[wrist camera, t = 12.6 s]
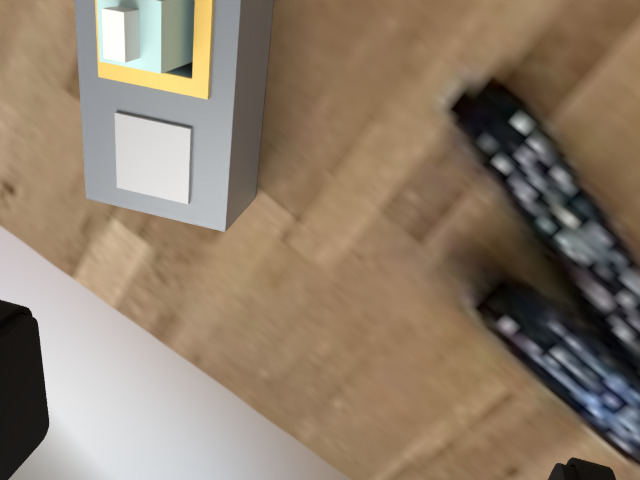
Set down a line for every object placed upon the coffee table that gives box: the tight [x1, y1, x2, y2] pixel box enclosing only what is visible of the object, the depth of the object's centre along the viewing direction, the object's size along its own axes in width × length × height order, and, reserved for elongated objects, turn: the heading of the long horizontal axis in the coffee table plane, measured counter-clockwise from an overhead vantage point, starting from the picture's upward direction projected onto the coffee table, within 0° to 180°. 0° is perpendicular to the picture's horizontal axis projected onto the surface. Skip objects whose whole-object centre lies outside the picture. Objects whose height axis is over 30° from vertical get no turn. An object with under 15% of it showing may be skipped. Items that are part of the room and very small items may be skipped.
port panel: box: [75, 0, 274, 232], centre depth 37 cm, size 16×10×6 cm, turn 172°
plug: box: [97, 0, 195, 74], centre depth 33 cm, size 4×4×10 cm
